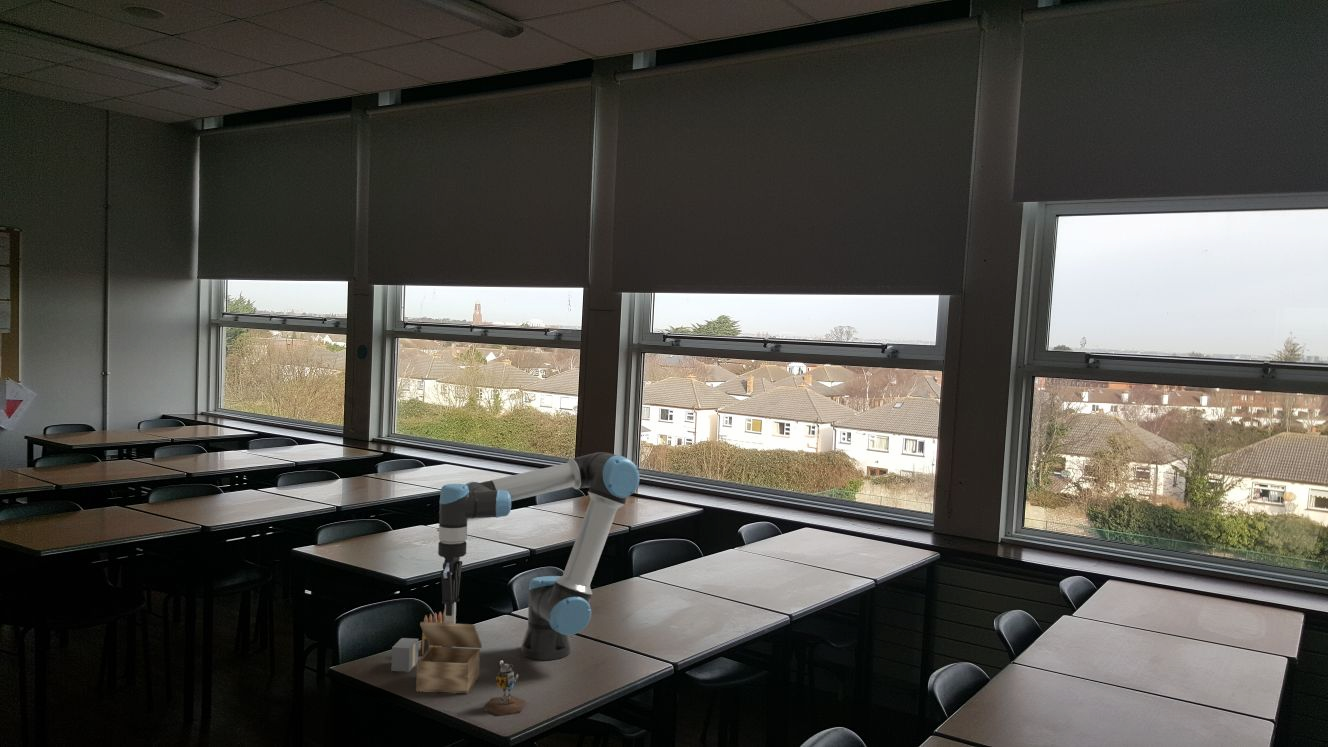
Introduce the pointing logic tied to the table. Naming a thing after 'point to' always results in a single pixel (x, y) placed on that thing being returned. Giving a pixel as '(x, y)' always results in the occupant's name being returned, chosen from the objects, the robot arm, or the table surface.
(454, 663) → the crate
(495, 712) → the robot figurine
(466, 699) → the table surface
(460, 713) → the table surface
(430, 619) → the ammunition clip
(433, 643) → the lid
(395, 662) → the grey taped box
